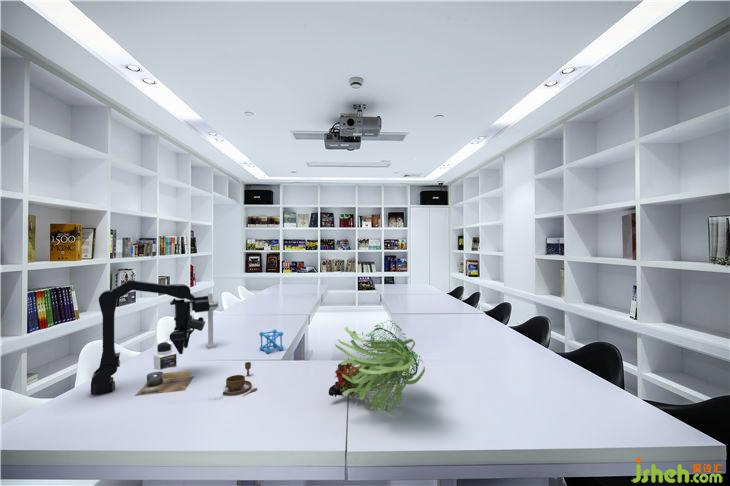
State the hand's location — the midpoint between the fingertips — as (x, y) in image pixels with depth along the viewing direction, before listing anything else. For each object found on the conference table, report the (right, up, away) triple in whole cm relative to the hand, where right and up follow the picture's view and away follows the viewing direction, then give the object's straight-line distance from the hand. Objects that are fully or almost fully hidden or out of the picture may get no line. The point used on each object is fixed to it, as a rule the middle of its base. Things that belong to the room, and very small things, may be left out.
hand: (183, 350), depth 147 cm
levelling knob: (-2, -10, -7) cm, 13 cm away
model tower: (-9, -13, +47) cm, 49 cm away
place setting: (+28, -12, -8) cm, 32 cm away
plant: (+82, -11, -23) cm, 86 cm away
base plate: (-1, -12, -10) cm, 16 cm away
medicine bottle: (-15, -13, +13) cm, 24 cm away
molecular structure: (+27, -12, +39) cm, 49 cm away
